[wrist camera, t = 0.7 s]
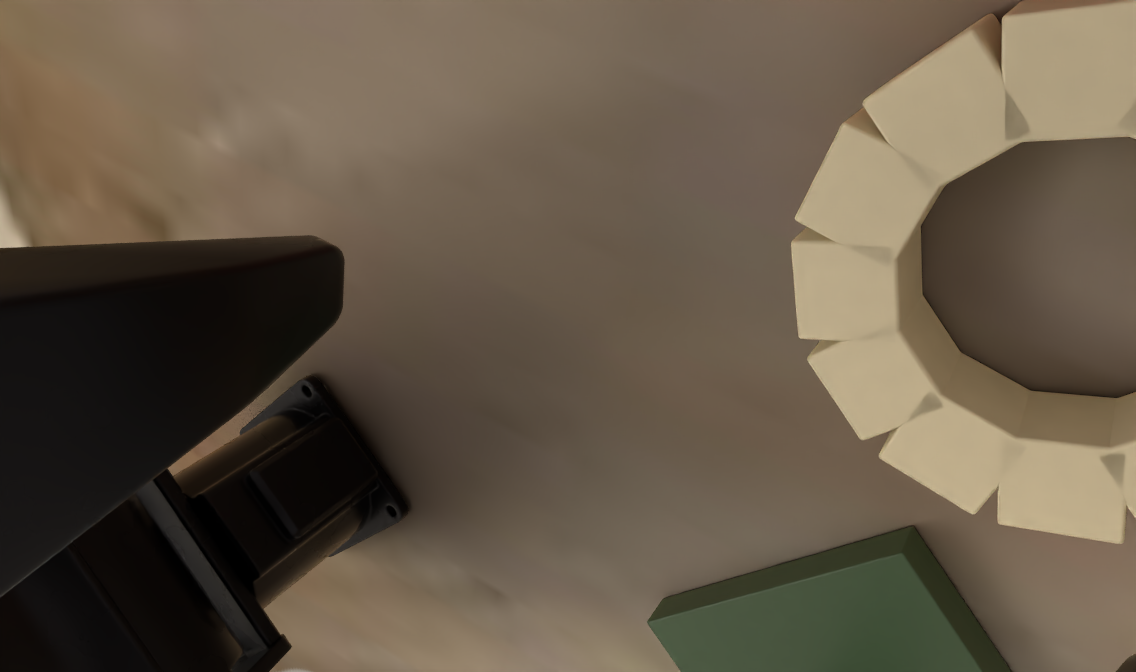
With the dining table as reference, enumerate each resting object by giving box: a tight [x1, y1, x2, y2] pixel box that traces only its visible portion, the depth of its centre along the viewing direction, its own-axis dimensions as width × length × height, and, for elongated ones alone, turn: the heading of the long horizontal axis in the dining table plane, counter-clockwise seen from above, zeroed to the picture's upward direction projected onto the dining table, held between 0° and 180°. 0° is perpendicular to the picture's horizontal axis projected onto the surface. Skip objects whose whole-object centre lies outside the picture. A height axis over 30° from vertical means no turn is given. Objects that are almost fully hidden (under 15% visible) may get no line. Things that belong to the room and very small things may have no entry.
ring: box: [791, 0, 1136, 544], centre depth 17 cm, size 10×10×2 cm
